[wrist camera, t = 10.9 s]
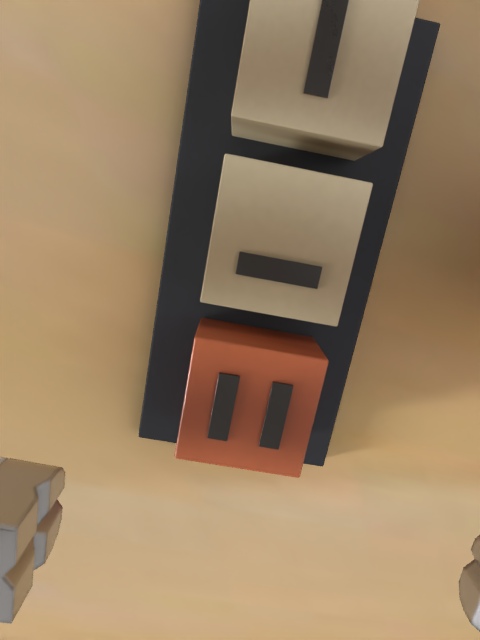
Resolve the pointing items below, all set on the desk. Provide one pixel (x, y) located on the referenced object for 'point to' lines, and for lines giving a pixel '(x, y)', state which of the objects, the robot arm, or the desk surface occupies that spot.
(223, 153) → the felt mat
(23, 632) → the desk surface
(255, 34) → the tile
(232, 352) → the pause symbol tile
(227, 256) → the tile
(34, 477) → the robot arm
